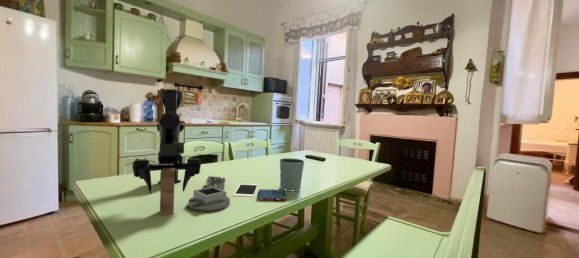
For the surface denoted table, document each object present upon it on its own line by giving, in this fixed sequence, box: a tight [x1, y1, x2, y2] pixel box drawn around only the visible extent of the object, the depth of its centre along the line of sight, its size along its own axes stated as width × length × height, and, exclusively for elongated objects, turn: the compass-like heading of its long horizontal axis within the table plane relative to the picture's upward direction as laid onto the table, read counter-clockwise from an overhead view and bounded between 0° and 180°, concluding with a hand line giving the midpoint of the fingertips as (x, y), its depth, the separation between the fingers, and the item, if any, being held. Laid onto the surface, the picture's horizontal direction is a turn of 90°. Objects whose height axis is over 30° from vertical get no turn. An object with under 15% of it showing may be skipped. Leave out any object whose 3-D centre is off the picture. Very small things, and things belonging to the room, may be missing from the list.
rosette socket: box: [187, 187, 231, 213], centre depth 84 cm, size 13×13×4 cm
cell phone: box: [232, 183, 259, 198], centre depth 103 cm, size 8×16×1 cm, turn 1°
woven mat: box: [256, 188, 287, 202], centre depth 96 cm, size 10×11×2 cm
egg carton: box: [205, 175, 226, 191], centre depth 105 cm, size 11×8×4 cm
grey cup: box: [279, 157, 305, 191], centre depth 108 cm, size 10×10×12 cm
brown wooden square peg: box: [159, 168, 175, 216], centre depth 76 cm, size 4×4×13 cm
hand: (167, 191), depth 75 cm, fingers open, 8 cm apart
